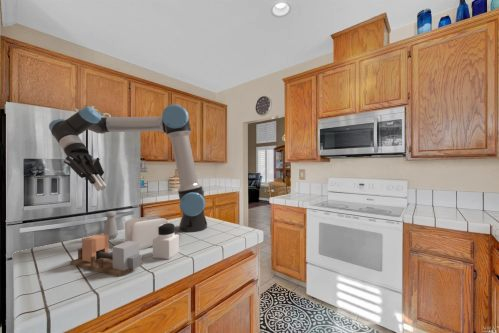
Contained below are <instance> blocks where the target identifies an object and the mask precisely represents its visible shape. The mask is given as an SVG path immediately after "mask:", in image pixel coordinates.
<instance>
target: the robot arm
mask: <svg viewBox="0 0 499 333" xmlns="http://www.w3.org/2000/svg"><path fill="white" fill-rule="evenodd" d="M48 130H49V131H50V134H52V136H53V137H54V139H55V140H56V142H57V143H58V145H59V146H60V147H61V149H62V151H63V152H64V154H65V155H66V157H65V159H64V161H63V163H64V164H67V165H68V166H69V167H70V168H71V169H72V170H73V171H74V172H75V173H76V175H77V176H78V177H80V178H81V179H83V178H84V180H85V181H88V182H89V183H90V184H91V185H93V186H94V188H95V190H96V191H97V192H99V191H104V190H105V189H106V188H107V184H106V182H105V179H104V178H103V175H104V173H105V171H104V169H103V166H102V164H101V162H100V159H101V158H99V157H96V158H95V157H93V156H92V155H91V154H90V152H89V149H88V148H87V146H86V144H85V143H84V142H83V141H82V139H81V138H80V135H81V134H82V133H85V131H87V130H88V131H91V132H94V133H96V134H106V133H115V132H116V133H124V132H126V133H128V132H129V133H130V132H133V133H134V132H162V133H164V134H166V136H167V137H168V138H169V139H170V141H171V146H172V150H173V151H172V152H173V156H174V157H173V158H174V162H175V166H176V171H177V176H178V182H179V188H178V189H177V193H178V194H177V195H178V198H179V209H180V210H181V212H182V216H181V219H180V222H179V225H178V226H179V228H178V229H179V231H182V232H184V233H186V232H191V233H192V232H193V233H194V232H199V231H200V232H201V231H202V230H206V229H207V228H208V222H207V219H206V216H205V208H206V200H205V190H204V187H203V186H202V184H200V183H199V182H198V176H197V171H196V167H195V161H194V156H193V152H192V146H191V141H190V135H191V133H192V129H191V124H190V118H189V112H188V111H187V109H185V108H184V107H183V106H181V105H180V104H176V103H175V104H170V105H167V106H166V107H165V108H164V109H163V111H162V113H161V115H160V116H113V117H112V116H107V117H106V116H105V117H104V116H103V117H101V115H100V113H99V112H97V110H95V109H94V108H93V107H91V106H88V105H87V106H85V107H82V108H81V109H79V111H77V112H75V113H74V114H72V115H71V116H70V117H68V118H67V119H63V118H57V119H54V120H52V121H51V122H50V123H49V125H48Z"/></svg>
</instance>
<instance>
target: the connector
mask: <svg viewBox="0 0 499 333" xmlns="http://www.w3.org/2000/svg"><path fill="white" fill-rule="evenodd" d="M112 254H113V268H114V269H119V270H123V271H124V270H126V269H128V268H135V267H137V266H138V267H140V266H142V265H141V260H142V254H140V250H139V242H133V241H127V242H122V243H119V244H117V245H114V246H112ZM139 265H140V266H139ZM138 267H137V268H138ZM135 269H136V268H135Z"/></svg>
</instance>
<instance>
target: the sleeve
mask: <svg viewBox="0 0 499 333" xmlns="http://www.w3.org/2000/svg"><path fill="white" fill-rule="evenodd" d="M81 240H82V241H81V244H82V245H81V246H82V247H81V248H82V261H87V262H91V257H92V256H95V261H96V251H101V252H106V253H110V251H109V248H110V247H109V246H110V245H109V241H110V240H109V235H105V234H104V233H97V234H93V235H91V236H86V237H84V238H82V239H81Z"/></svg>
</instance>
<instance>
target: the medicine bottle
mask: <svg viewBox="0 0 499 333" xmlns="http://www.w3.org/2000/svg"><path fill="white" fill-rule="evenodd" d="M178 253H180V234H177V233H175V224H174V223H171V222H167V223H164V224H161V225H159V226H158V237H156V238H154V239H153V246H152V258H154V259H161V260H170V259H171V258H173V257H174V256H176V255H178Z"/></svg>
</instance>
